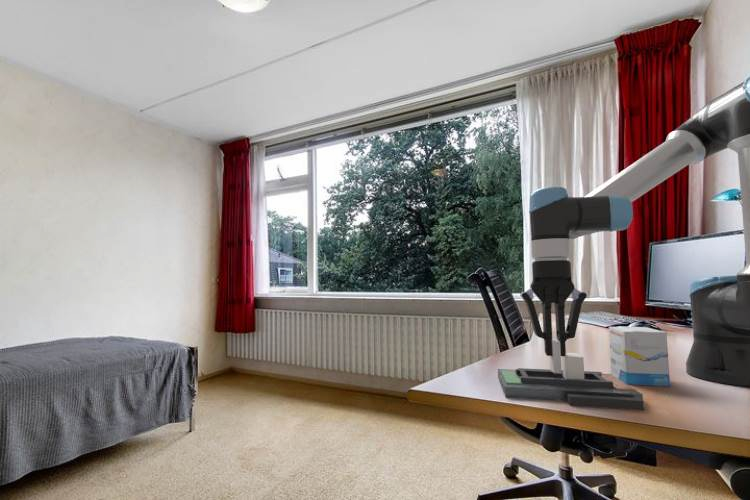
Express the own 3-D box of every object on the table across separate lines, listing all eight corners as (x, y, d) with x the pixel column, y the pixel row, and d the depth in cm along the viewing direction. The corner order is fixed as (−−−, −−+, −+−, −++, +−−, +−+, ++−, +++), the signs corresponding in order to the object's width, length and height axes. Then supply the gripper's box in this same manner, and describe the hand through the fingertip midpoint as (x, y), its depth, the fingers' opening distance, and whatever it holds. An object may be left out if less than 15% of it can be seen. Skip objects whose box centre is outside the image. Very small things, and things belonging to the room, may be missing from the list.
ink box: (671, 387, 77) (667, 331, 78) (627, 384, 79) (624, 330, 80) (649, 376, 86) (646, 326, 87) (610, 374, 87) (607, 325, 88)
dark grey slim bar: (600, 379, 84) (600, 371, 84) (603, 381, 82) (603, 373, 82) (518, 374, 88) (517, 368, 88) (519, 376, 86) (518, 369, 86)
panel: (611, 383, 80) (611, 369, 80) (643, 405, 67) (642, 388, 67) (497, 377, 85) (497, 364, 86) (505, 397, 72) (504, 381, 72)
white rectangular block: (578, 377, 77) (577, 353, 78) (584, 382, 73) (583, 357, 74) (562, 376, 78) (561, 352, 78) (568, 381, 74) (567, 356, 74)
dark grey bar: (639, 407, 66) (639, 398, 66) (644, 410, 64) (643, 401, 64) (567, 402, 68) (567, 393, 69) (570, 405, 67) (569, 396, 67)
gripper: (578, 260, 80) (584, 368, 79) (516, 261, 83) (520, 366, 82) (590, 258, 73) (596, 378, 71) (521, 259, 76) (526, 374, 74)
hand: (556, 371), depth 76 cm, fingers closed
